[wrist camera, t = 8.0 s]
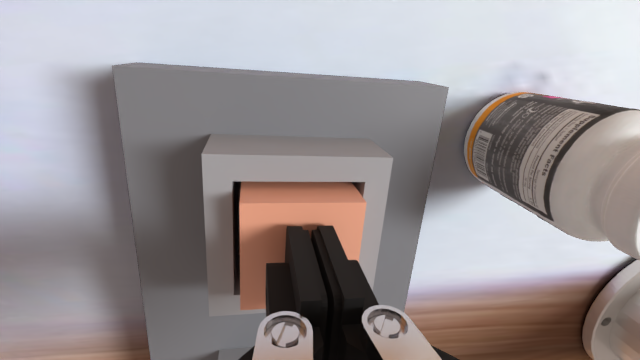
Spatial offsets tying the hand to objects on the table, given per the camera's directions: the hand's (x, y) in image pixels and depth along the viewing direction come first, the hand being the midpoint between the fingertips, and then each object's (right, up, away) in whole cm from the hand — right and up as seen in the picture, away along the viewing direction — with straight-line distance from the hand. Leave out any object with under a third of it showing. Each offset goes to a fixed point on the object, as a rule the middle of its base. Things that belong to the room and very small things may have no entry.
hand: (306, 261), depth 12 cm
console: (-2, -3, +9) cm, 9 cm away
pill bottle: (+11, +5, +8) cm, 15 cm away
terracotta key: (-1, +1, +3) cm, 3 cm away
